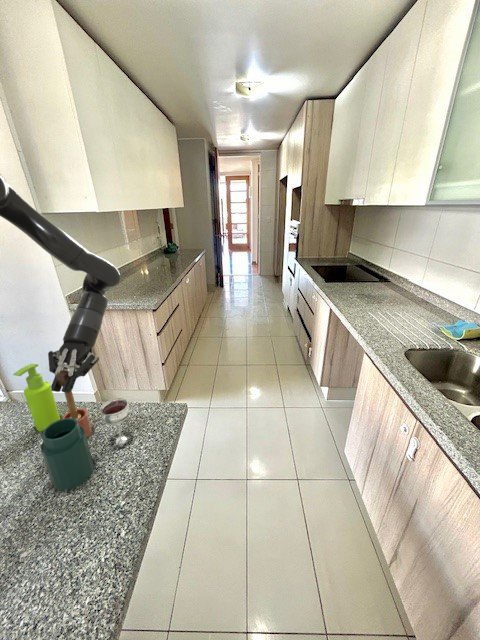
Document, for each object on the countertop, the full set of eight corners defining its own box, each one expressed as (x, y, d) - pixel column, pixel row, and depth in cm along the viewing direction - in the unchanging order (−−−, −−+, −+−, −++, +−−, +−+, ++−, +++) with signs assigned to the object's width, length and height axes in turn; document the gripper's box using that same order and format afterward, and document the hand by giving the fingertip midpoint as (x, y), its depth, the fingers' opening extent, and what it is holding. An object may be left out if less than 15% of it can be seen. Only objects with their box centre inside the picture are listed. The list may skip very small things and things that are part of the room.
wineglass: (102, 443, 70) (94, 407, 66) (125, 428, 75) (119, 394, 71) (116, 456, 66) (108, 419, 62) (139, 439, 72) (133, 404, 67)
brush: (71, 437, 71) (53, 375, 64) (78, 430, 74) (62, 369, 67) (80, 438, 71) (63, 376, 64) (87, 431, 73) (72, 370, 66)
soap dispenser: (27, 432, 73) (5, 371, 66) (49, 416, 80) (32, 359, 72) (44, 436, 72) (24, 375, 65) (65, 419, 78) (49, 361, 71)
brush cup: (62, 442, 70) (56, 422, 68) (77, 427, 76) (72, 407, 73) (82, 445, 69) (76, 424, 67) (96, 429, 75) (91, 409, 72)
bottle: (44, 488, 58) (26, 441, 53) (71, 458, 66) (58, 413, 61) (77, 494, 57) (63, 445, 52) (101, 462, 65) (90, 417, 60)
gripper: (51, 321, 69) (23, 386, 62) (99, 324, 67) (75, 392, 60) (70, 331, 76) (46, 391, 69) (114, 334, 74) (94, 396, 67)
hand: (60, 391), depth 65 cm, fingers closed on brush, 2 cm apart
